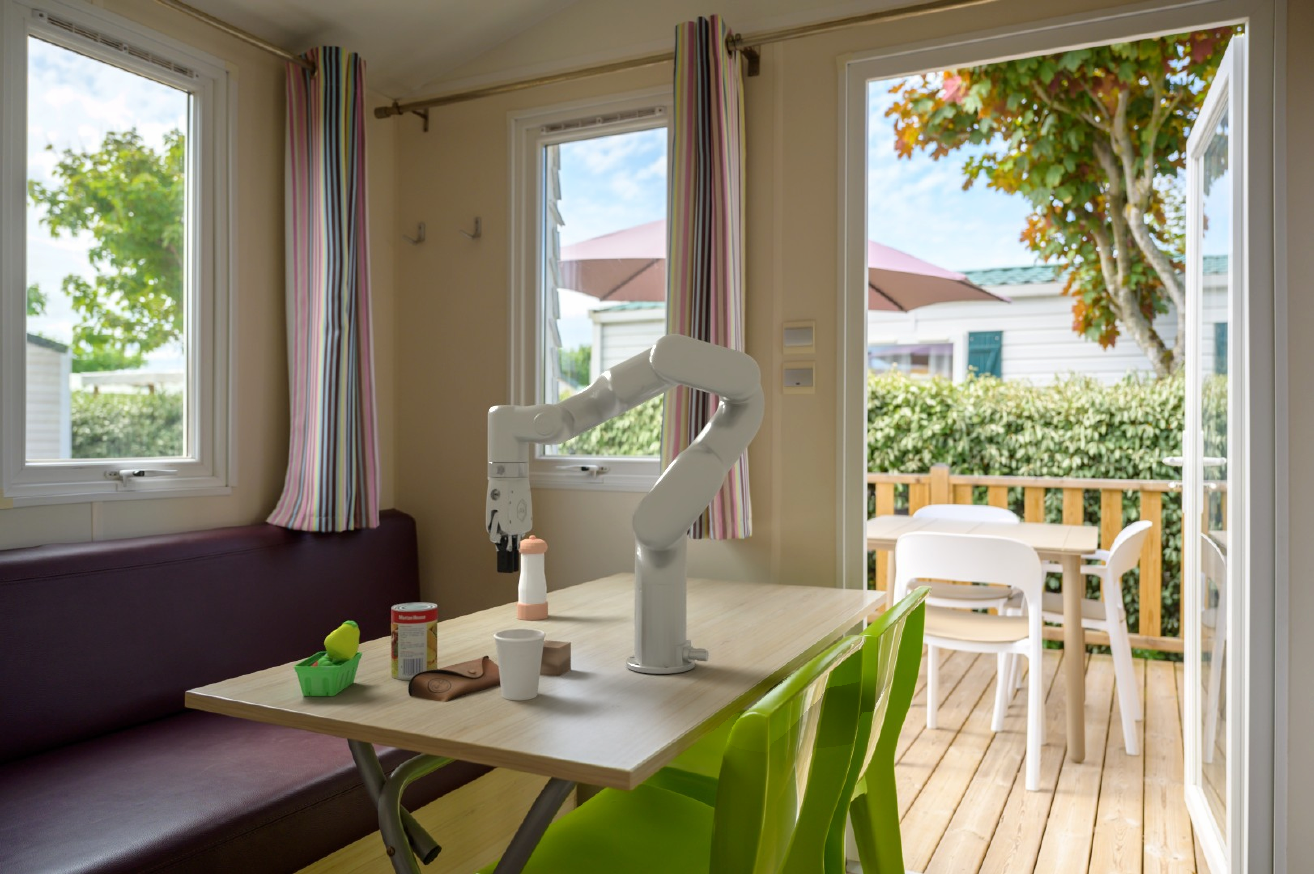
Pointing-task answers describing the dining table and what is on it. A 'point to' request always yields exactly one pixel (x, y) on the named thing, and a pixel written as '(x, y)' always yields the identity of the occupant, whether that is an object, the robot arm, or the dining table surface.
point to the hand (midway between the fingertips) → (508, 571)
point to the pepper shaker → (532, 580)
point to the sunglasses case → (455, 680)
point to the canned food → (413, 639)
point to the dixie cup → (519, 662)
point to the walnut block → (555, 658)
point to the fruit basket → (331, 663)
